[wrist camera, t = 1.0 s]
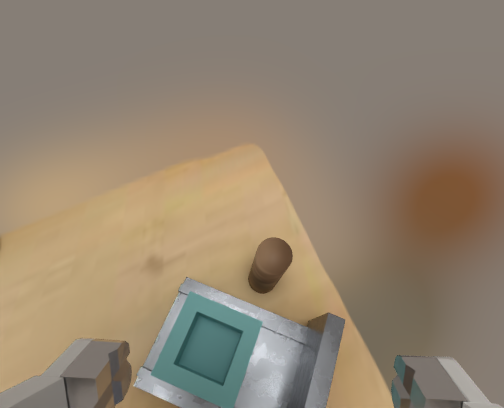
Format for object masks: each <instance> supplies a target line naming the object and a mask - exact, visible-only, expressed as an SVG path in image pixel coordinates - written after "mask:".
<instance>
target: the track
mask: <svg viewBox="0 0 504 408" xmlns="http://www.w3.org/2000/svg"><path fill="white" fill-rule="evenodd" d="M178 291H179V293H178V295H177V297H176V299H175V302H174V304H173V306H172V308H171V310H170V312H169V314H168V316H167V318H166V320H165V322H164V324H163V326H162V328H161V330H160V332H159V334H158V336H157V338H156V340H155V342H154V344H153V346H152V349H151V351H150V353H149V355H148V357H147V359H146V361H145V363H144V365H143V366H141V367H140V369H139V371H138V373H137V376H138V377H137V379H136V381H135V383H134V385H133V386H135V387H137V388H139V389H141V390H144V391H146V392H148V393H150V394H152V395H154V396H157V397H159V398H161V399H163V400H165V401H168V402H170V403H172V404H174V405H176V406H178V407H181V408H222V407H220V406H218V405H215V404H213V403H211V402H209V401H207V400H204V399H202V398H200V397H198V396H196V395H193V394H191V393H189V392H187V391H184V390H182V389H180V388H178V387H176V386H173V385H171V384H169V383H167V382H165V381H162V380H160V379H158V378H156V377H154V376H151V375H150V374H151V372H152V370H153V368H154V366H155V364H156V362H157V360H158V357H159V355H160V353H161V351H162V349H163V347H164V345H165V343H166V341H167V338H168V336H169V334H170V332H171V330H172V328H173V326H174V324H175V322H176V319H177V317H178V315H179V313H180V311H181V309H182V307H183V305H184V303H185V300H186V298H187V296H188V294H189V292H190V291H191V292H193V293H196V294H198V295H201V296H203V297H205V298H208V299H210V300H212V301H215V302H217V303H220V304H222V305H224V306H227V307H229V308H232V309H234V310H236V311H239V312H241V313H243V314H246V315H248V316H251V317H253V318H255V319H258V320H260V321H262V322H263V324H262V326H261V329H260V332H259V335H258V338H257V341H256V344H255V347H254V350H253V353H252V356H251V358H250V361H249V364H248V367H247V370H246V373H245V376H244V379H243V382H242V385H241V387H240V390H239V393H238V396H237V399H236V402H235V405H234V408H326V404H327V400H328V396H329V391H330V387H331V382H332V378H333V373H334V369H335V364H336V360H337V355H338V351H339V346H340V342H341V337H342V333H343V328H344V324H345V319H343V318H340V317H338V316H335V315H333V314H330V313H327V314H324V315H322V316H319V317H317V318H315V319H312V320H310V321H308V324H307V327H305V326H303V325H301V324H298V323H296V322H293V321H291V320H289V319H286V318H284V317H281V316H279V315H277V314H274V313H272V312H269V311H267V310H265V309H262V308H260V307H257V306H255V305H252V304H250V303H248V302H245V301H243V300H240V299H238V298H236V297H233V296H231V295H228V294H226V293H224V292H221V291H219V290H216V289H214V288H212V287H209V286H207V285H204V284H202V283H200V282H197V281H195V280H192V279H190V278H188V277H186V279H185V281H184V283H183V284H181V286H180V288H179V290H178Z"/></svg>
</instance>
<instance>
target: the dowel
mask: <svg viewBox="0 0 504 408" xmlns="http://www.w3.org/2000/svg"><path fill="white" fill-rule="evenodd" d="M292 257H293V256H292V250H291V248H290V246H289V245H288V244H287V243H286V242H285V241H284V240H282V239H279V238H268V239H266V240H264V241H263V242H261V244H260V245H259V247H258V249H257V252H256V255H255V258H254V261H253V264H252V268H251V271H250V274H249V278H248V280H249V284H250V286H251V288H252V289H253V290H254V291H256V292H258V293H267V292H269V291H271V290H272V289H273V287H274V286H275V285H276V283H277V282H278V281H279V279H280V278H281V277H282V275H283V274H284V272H285V271H286V270H287V268H288V267H289V266H290V264H291V262H292Z"/></svg>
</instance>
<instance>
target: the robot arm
mask: <svg viewBox="0 0 504 408" xmlns="http://www.w3.org/2000/svg"><path fill="white" fill-rule="evenodd" d="M129 353H130V350H129V343H127V342H126V341H119V340H106V339H90V338H79V339H76V340H75V341H74V342H73V343H72V344H71V345H70V346H69V347H68V348H67V349H66V350H65V351H64V352H63V353H62V354H61V355H60V356H59V357H58V358H57V359H56V360H55V362H54V363H53V364H52V365H51V366H50V367H49V368H48V369H47V370H46V371H45V372H44V373H43V374H42V375H41V376H34V377H32V378H30V379H28V380H26V381H24V382H22V383H20V384H18V385H16V386H14V387H12V388H10V389H8V390H6V391H4V392H2V393H0V408H115V405H116V404H118V403H119V402H121V401H122V400H123V399H124V397H125V395H126V393H127V391H128V388H129V385H130V382H131V373H132V372H131V365H130V363H129V362H128V361H127V360H126V358H127V356H128V355H129ZM394 368H395V370H396V372H397V374H398V375H397V376H396V377H395V378H394V379H393V380H392V389H391V390H392V391H391V392H392V401H393V404H394V408H503V407H502V406H500V405H498V404H491V403H490V401H489V400H488V399H487V398H486V397H485V395H484V394H483V393H482V392H481V390H480V389H479V388H478V387H477V386H476V384H475V383H474V382H473V381H472V380H471V379H470V377H469V376H468V375H467V373H466V372H465V371H464V370H463V369H462V367H461V366H460V365H459V364H458V362H457V361H456V360H455V359H453V358H452V357H438V356H437V357H436V356H433V357H423V356H422V357H421V356H401V355H397V357H396V359H395V363H394Z"/></svg>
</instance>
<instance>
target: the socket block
mask: <svg viewBox="0 0 504 408" xmlns="http://www.w3.org/2000/svg"><path fill="white" fill-rule="evenodd" d="M262 324H263V322H262V321H260V320H258V319H255V318H253V317H251V316H248V315H246V314H243V313H241V312H239V311H236V310H234V309H232V308H229V307H227V306H224V305H222V304H220V303H217V302H215V301H212V300H210V299H208V298H205V297H203V296H201V295H198V294H196V293H193V292H191V291H190V292H189V294H188V296H187V298H186V300H185V303H184V305H183V307H182V309H181V311H180V313H179V315H178V317H177V319H176V322H175V324H174V326H173V328H172V330H171V332H170V334H169V336H168V338H167V341H166V343H165V345H164V347H163V349H162V351H161V353H160V355H159V357H158V360H157V362H156V364H155V366H154V368H153V370H152V372H151V374H150V375H151V376H154V377H156V378H158V379H160V380H162V381H165V382H167V383H169V384H171V385H173V386H176V387H178V388H180V389H182V390H184V391H187V392H189V393H191V394H193V395H196V396H198V397H200V398H202V399H204V400H207V401H209V402H211V403H213V404H215V405H218V406H220V407H222V408H234V405H235V402H236V399H237V396H238V393H239V390H240V387H241V385H242V382H243V379H244V376H245V373H246V370H247V367H248V364H249V361H250V358H251V356H252V353H253V350H254V347H255V344H256V341H257V338H258V335H259V332H260V329H261V326H262Z"/></svg>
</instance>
